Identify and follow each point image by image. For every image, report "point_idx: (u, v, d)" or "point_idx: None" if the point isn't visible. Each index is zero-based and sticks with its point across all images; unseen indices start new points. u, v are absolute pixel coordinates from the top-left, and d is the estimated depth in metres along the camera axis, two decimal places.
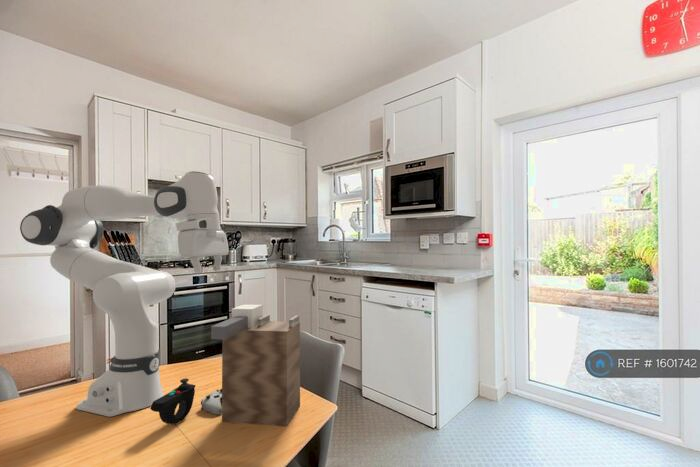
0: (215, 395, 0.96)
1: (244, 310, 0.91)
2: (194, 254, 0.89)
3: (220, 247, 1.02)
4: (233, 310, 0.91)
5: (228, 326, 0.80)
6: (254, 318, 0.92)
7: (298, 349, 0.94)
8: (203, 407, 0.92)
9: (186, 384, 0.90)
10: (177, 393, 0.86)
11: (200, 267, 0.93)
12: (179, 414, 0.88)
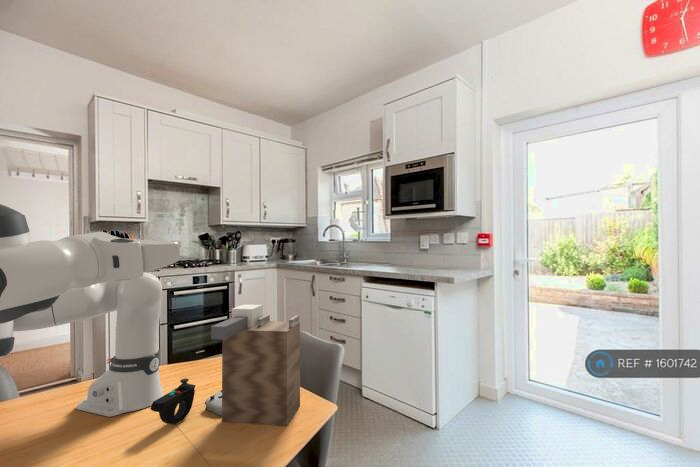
0: (219, 395, 0.95)
1: (244, 310, 0.91)
2: None
3: None
4: (233, 310, 0.91)
5: (228, 326, 0.80)
6: (254, 318, 0.92)
7: (298, 349, 0.94)
8: (207, 407, 0.92)
9: (186, 384, 0.90)
10: (177, 393, 0.86)
11: (173, 241, 0.68)
12: (179, 414, 0.88)
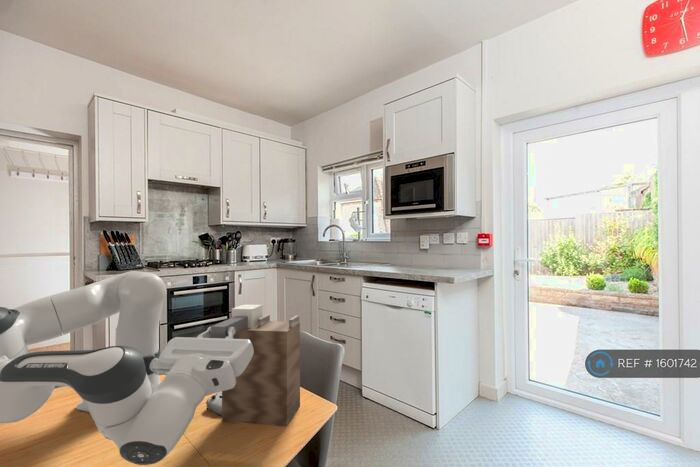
0: (220, 395, 0.96)
1: (244, 310, 0.91)
2: (245, 339, 0.74)
3: (187, 344, 0.75)
4: (233, 310, 0.91)
5: (228, 326, 0.80)
6: (254, 318, 0.92)
7: (298, 349, 0.94)
8: (208, 407, 0.92)
9: None
10: None
11: (230, 330, 0.79)
12: None
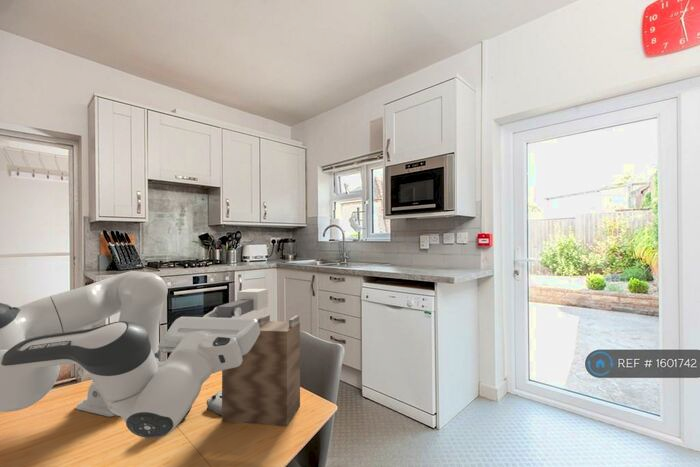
0: (221, 395, 0.96)
1: (250, 293, 0.90)
2: (252, 319, 0.74)
3: (193, 323, 0.74)
4: (239, 293, 0.91)
5: (234, 307, 0.80)
6: (260, 301, 0.91)
7: (298, 349, 0.94)
8: (209, 407, 0.92)
9: None
10: None
11: (236, 310, 0.78)
12: None
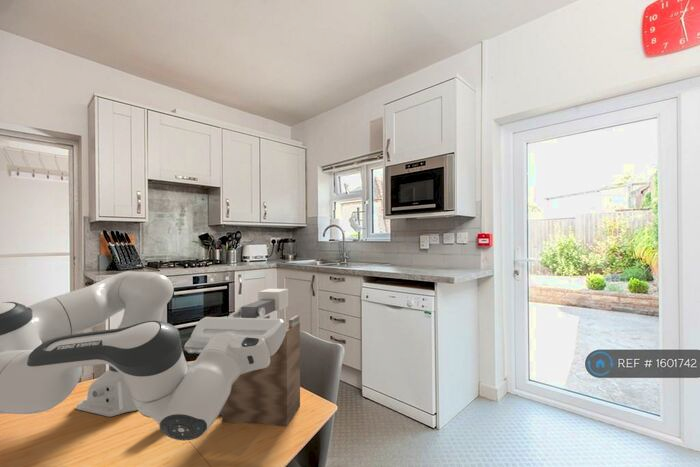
0: None
1: (271, 293, 0.89)
2: (278, 319, 0.73)
3: (218, 323, 0.73)
4: (260, 293, 0.90)
5: (258, 307, 0.79)
6: (281, 301, 0.90)
7: (298, 349, 0.94)
8: None
9: None
10: None
11: (260, 311, 0.77)
12: None
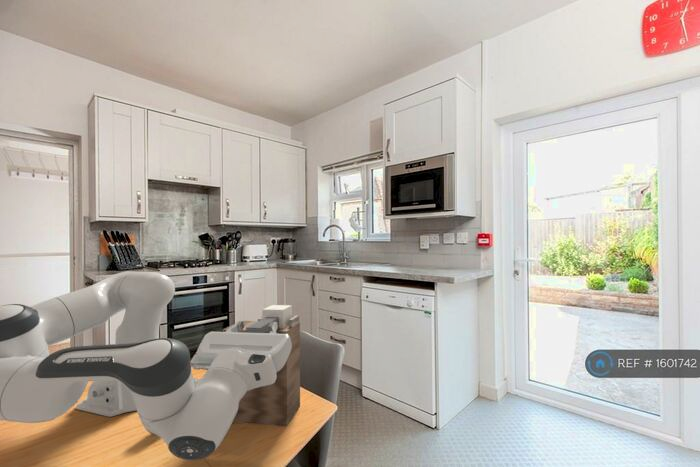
0: None
1: (275, 311, 0.89)
2: (284, 334, 0.73)
3: (224, 338, 0.73)
4: (264, 311, 0.90)
5: (263, 327, 0.79)
6: (285, 319, 0.90)
7: (298, 349, 0.94)
8: None
9: None
10: None
11: (273, 325, 0.77)
12: None
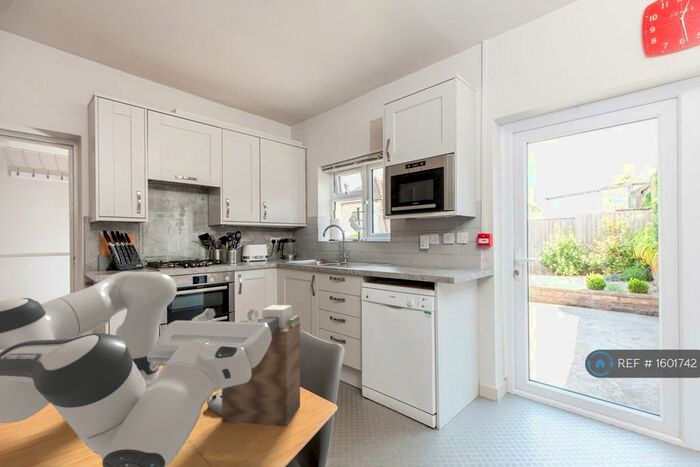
0: (221, 395, 0.96)
1: (275, 311, 0.89)
2: (262, 323, 0.61)
3: (190, 328, 0.61)
4: (264, 311, 0.90)
5: None
6: (285, 319, 0.90)
7: (298, 349, 0.94)
8: (209, 407, 0.92)
9: None
10: None
11: (252, 313, 0.65)
12: None
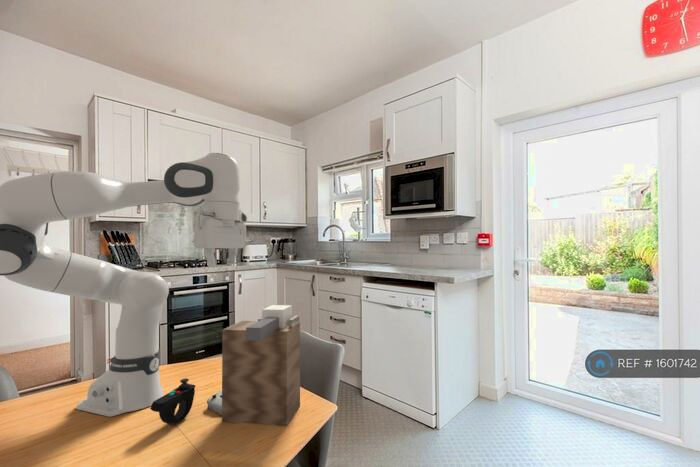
0: (221, 394, 0.96)
1: (275, 311, 0.89)
2: None
3: None
4: (264, 311, 0.90)
5: (263, 327, 0.79)
6: (285, 319, 0.90)
7: (298, 349, 0.94)
8: (209, 406, 0.93)
9: (186, 384, 0.90)
10: (177, 393, 0.86)
11: None
12: (179, 414, 0.88)
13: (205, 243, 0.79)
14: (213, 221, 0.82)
